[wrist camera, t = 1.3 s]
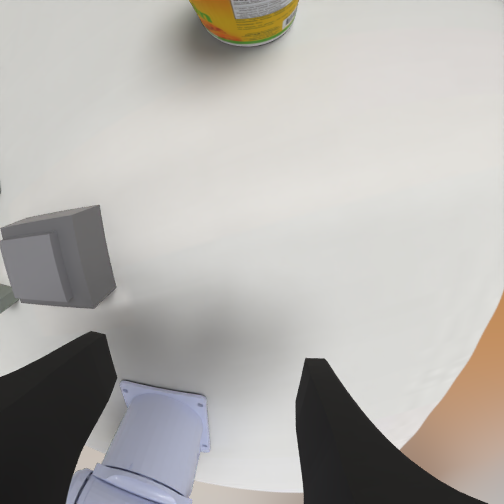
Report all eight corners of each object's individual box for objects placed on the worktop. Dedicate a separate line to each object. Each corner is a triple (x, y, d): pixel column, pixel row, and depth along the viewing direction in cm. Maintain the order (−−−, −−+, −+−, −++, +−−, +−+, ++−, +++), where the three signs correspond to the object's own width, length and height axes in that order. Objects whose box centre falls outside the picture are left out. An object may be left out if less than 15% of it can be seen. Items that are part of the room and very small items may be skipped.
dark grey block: (117, 285, 19) (87, 314, 15) (45, 284, 20) (15, 307, 16) (101, 204, 17) (63, 218, 13) (29, 216, 18) (-7, 231, 14)
